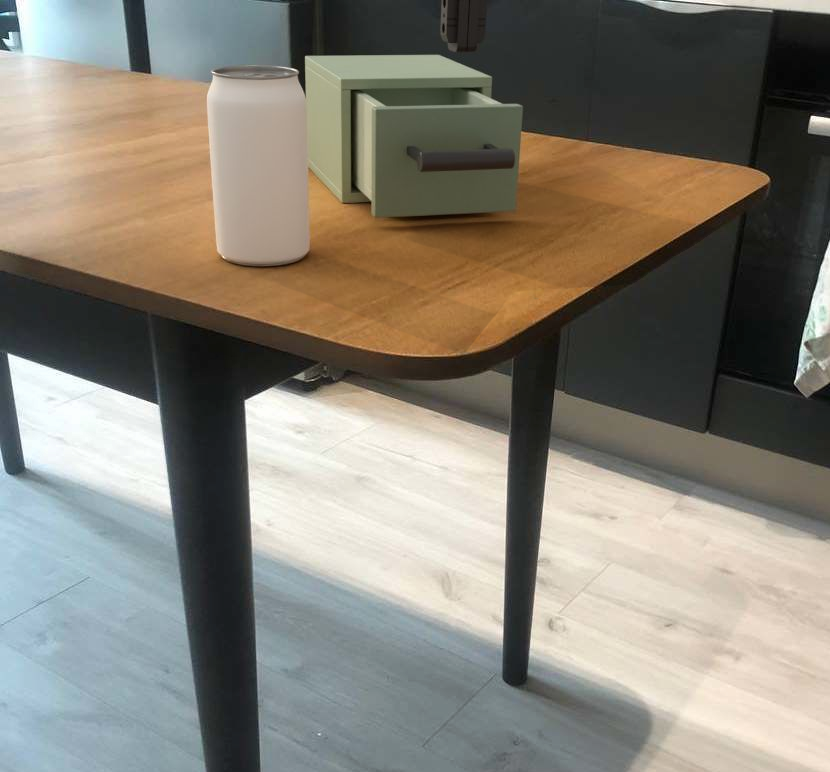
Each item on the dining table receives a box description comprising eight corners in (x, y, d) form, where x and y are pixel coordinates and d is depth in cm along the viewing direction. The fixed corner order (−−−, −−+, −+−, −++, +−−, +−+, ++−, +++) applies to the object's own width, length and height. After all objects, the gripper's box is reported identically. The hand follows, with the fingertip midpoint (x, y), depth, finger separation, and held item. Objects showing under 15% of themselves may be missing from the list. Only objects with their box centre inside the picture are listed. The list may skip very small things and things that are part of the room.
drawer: (538, 226, 81) (547, 116, 77) (391, 234, 78) (392, 120, 74) (462, 174, 96) (466, 80, 92) (336, 179, 93) (335, 82, 89)
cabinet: (485, 197, 93) (492, 76, 88) (341, 203, 89) (340, 78, 85) (435, 162, 105) (439, 54, 100) (307, 166, 102) (304, 55, 97)
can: (241, 238, 79) (232, 62, 73) (324, 247, 78) (320, 68, 72) (200, 261, 74) (186, 73, 68) (287, 272, 72) (281, 80, 66)
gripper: (389, -267, 62) (384, 58, 71) (599, -251, 66) (570, 57, 74) (358, -253, 69) (357, 44, 77) (552, -239, 72) (530, 45, 81)
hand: (462, 50), depth 76 cm, fingers closed
